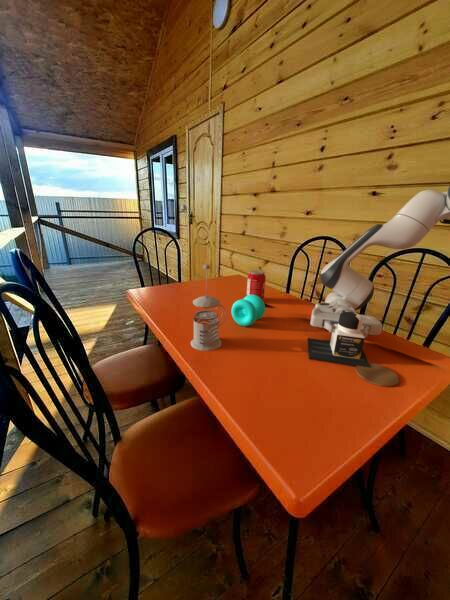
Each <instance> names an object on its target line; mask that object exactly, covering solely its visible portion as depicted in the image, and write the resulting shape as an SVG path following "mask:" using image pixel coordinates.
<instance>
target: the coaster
mask: <svg viewBox="0 0 450 600" xmlns="http://www.w3.org/2000/svg"><path fill="white" fill-rule="evenodd" d="M369 364H370V366H371V367H370V368H369V367H363V366H356V367H354V371H355V373H356V374H357V375H358V376H359V377H360V378H361V379H362V380H364V381H365V382H367V383H370V384H372V385H374V386H378V387H383V388H393V387H396V386H398V385H399V383H400V378H399V376H398V374H397V373H395V372H394V371H393V370H391V369H390V368H388V367H386V366H383V365H381V364H378V363H374V362H369Z"/></svg>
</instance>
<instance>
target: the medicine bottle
mask: <svg viewBox="0 0 450 600" xmlns="http://www.w3.org/2000/svg"><path fill="white" fill-rule="evenodd" d="M361 315H362V314H360V315H359V313H358V312H356V313H353V312H343V313H341V314H340V317H339V322H338V324H334V326H335V327H336V329H335V333H331V338H330V340H329V341H330V346H331V349H332V353H333V355H334V356H340V357H347V358H353V359H360V356H361V352H362V349H363V348H364V344H365V339H366V337H364V335H363V333H362V332H361V327H362V323H363V317H362V316H361Z"/></svg>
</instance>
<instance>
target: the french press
mask: <svg viewBox="0 0 450 600" xmlns="http://www.w3.org/2000/svg"><path fill="white" fill-rule="evenodd" d="M202 269H204V270H205V271H206V272H205V273H206V274H205V293H206V294H205V295H202V296H199V297H197V298H195V299H193V300H192V304H193V305H194V307H197V308H201V309H203V310H198V311H196V312H195V313H194V318H193V339H192V340H191V341H190V346H191V347H192V348H193V349H195V350H197V351H201V352H210V351H215V350H217V349H219V348H220V347H221V346H222V341H221V339H220V338H219V330H220V327H221V326H222V325H223V324H224V322H225V320H226V317H227V311H226V308H225V306H223V305H222V304H221V301H220V300H219V299H217V298H216V297H214V296H211V295H208V270H210V269H211V266H210V265H209V264H208V263H207V264H206V263H205V264H204V265H203V266H202ZM212 308H215V309H216V310H219V309H220V308H221V316H220V318H219V317H218V316H219V313H218V312H217V311H214V310H212ZM204 309H205V310H204ZM208 309H211V310H208ZM223 316H224V318H223ZM222 318H223V321H222ZM221 321H222V322H221ZM220 322H221V323H220Z"/></svg>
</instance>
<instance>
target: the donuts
mask: <svg viewBox="0 0 450 600" xmlns="http://www.w3.org/2000/svg"><path fill="white" fill-rule="evenodd" d="M230 311H231V312H230V313H231V316H232V319H233V320H234V322H235V323H236V324H238V325H239V326H242V327H250V326H252V325H253V324H254V323H255V322H256V321H257V320H261V319H262V318H263V316H264V315H265V313H266V305H265V302H263V300H262V299H261V298H260V297H258V296H256V295H248V296H246V295H245V297H243V298H241V299H237V300H236V301H234V303H233V304H232V305H231V310H230Z"/></svg>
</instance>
